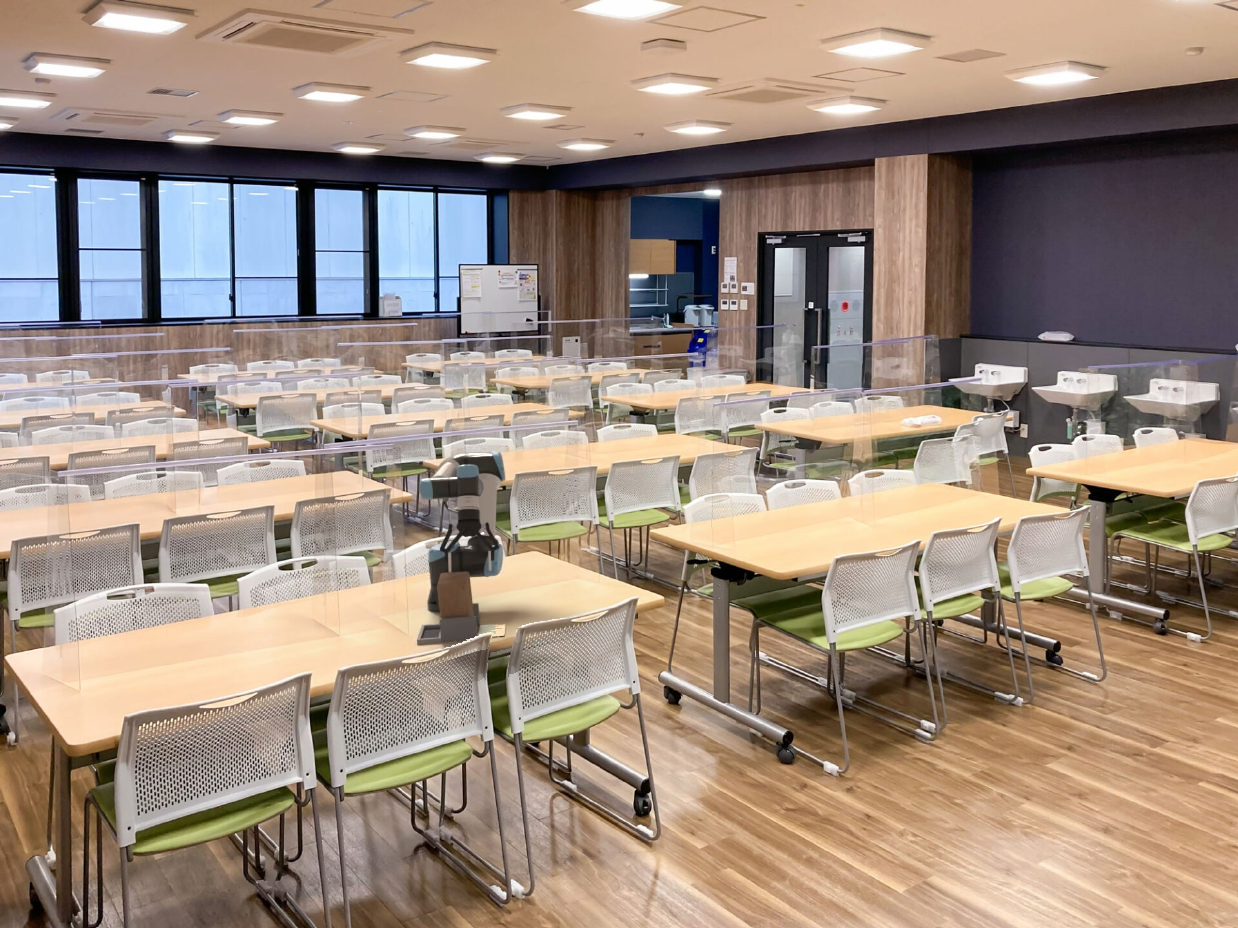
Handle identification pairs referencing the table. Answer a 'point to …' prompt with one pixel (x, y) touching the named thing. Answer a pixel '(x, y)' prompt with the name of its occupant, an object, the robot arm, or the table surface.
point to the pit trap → (429, 634)
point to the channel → (460, 627)
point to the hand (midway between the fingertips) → (470, 571)
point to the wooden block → (455, 595)
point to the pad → (487, 629)
